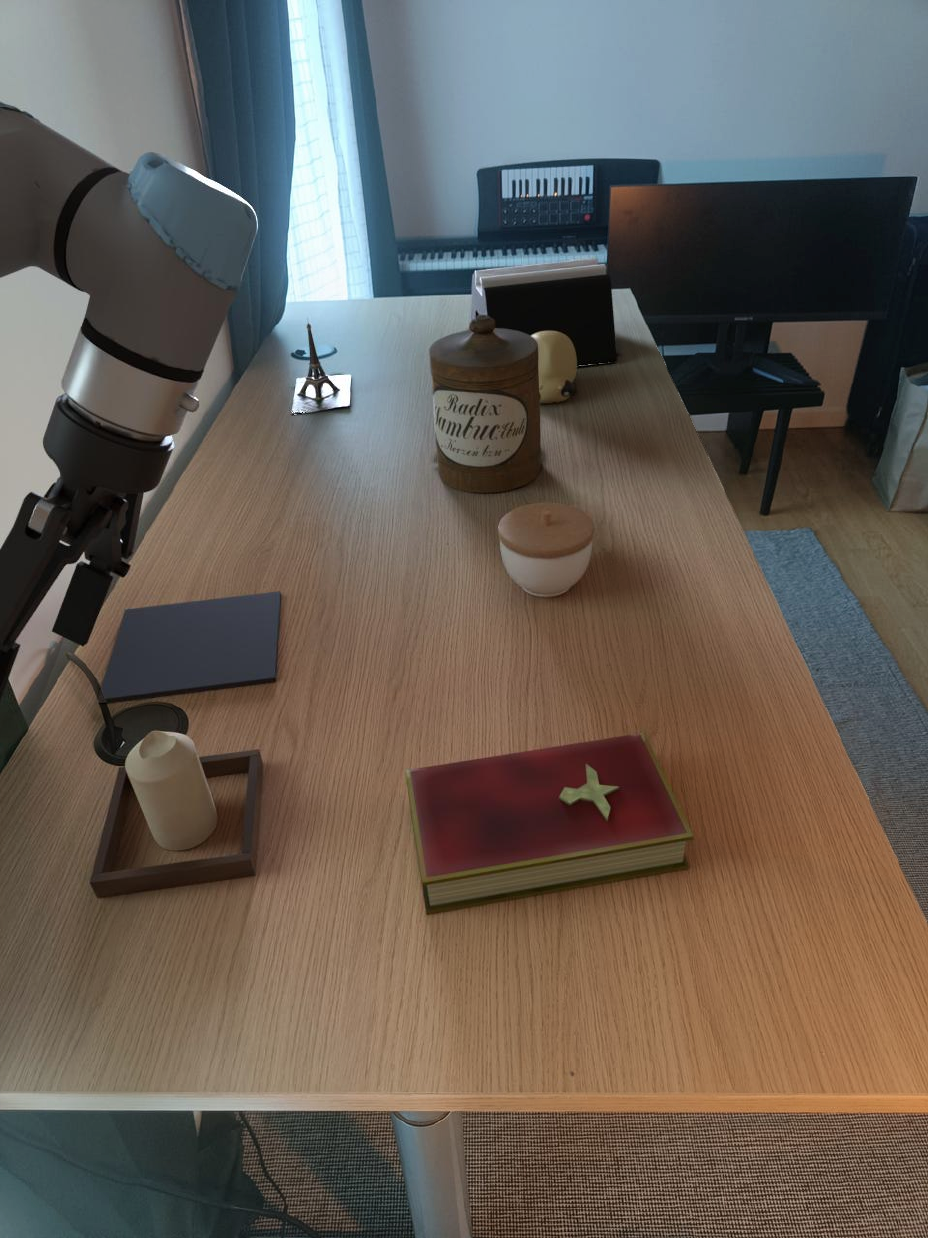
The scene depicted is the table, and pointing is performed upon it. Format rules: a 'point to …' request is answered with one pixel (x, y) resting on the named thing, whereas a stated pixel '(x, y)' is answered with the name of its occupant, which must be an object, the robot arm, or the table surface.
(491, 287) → the device stand
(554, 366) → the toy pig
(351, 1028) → the table surface
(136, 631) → the felt mat
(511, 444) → the wooden container
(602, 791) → the hardcover book
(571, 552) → the trinket box
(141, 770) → the candle
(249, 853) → the square wooden frame
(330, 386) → the eiffel tower figurine
